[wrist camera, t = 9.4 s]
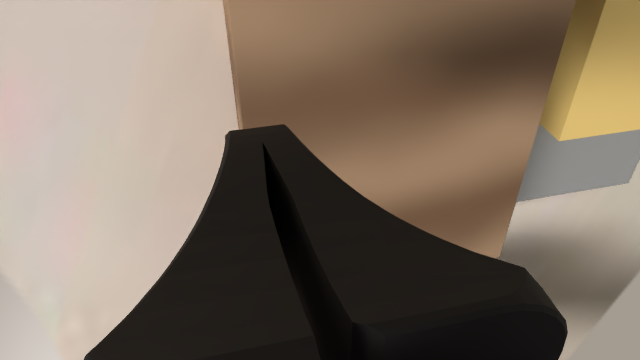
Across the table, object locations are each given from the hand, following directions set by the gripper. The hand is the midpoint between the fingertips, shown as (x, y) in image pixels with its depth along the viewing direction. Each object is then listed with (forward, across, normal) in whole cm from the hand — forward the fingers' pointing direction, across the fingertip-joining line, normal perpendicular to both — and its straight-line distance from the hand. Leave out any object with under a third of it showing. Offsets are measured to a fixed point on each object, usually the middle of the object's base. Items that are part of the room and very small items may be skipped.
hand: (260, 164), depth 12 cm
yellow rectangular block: (+8, -18, +2) cm, 19 cm away
